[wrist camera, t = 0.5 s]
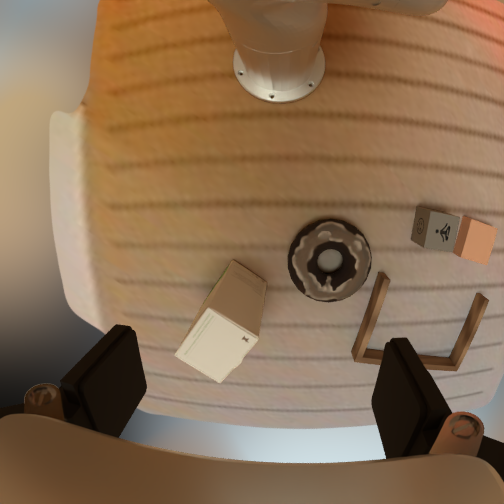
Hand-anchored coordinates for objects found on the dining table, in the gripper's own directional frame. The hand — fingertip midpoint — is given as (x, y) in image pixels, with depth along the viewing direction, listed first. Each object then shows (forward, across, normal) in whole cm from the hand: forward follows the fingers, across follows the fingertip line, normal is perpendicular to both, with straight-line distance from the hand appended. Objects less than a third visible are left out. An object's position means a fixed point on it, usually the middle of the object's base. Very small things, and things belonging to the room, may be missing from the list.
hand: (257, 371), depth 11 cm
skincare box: (+34, +6, +11) cm, 36 cm away
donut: (+34, -7, +5) cm, 35 cm away
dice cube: (+34, -22, 0) cm, 41 cm away
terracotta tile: (+34, -31, +2) cm, 46 cm away
